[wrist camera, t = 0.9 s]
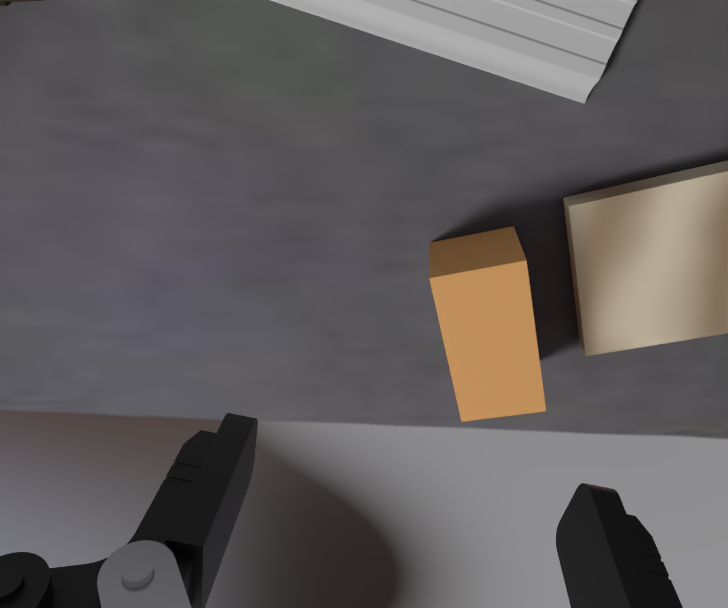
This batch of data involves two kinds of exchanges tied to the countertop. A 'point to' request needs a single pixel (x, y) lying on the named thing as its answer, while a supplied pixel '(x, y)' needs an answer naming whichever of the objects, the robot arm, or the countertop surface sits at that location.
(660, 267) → the plywood board
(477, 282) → the block
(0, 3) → the brown pointed piece
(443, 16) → the baseboard
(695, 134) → the countertop surface
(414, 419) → the countertop surface
